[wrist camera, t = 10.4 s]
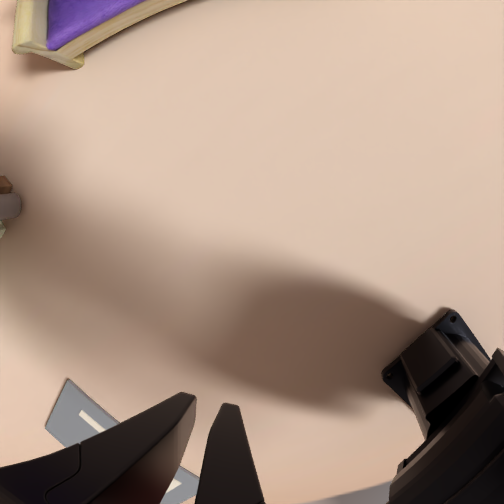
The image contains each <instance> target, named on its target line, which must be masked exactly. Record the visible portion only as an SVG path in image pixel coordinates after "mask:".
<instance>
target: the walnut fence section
mask: <svg viewBox="0 0 504 504" xmlns="http://www.w3.org/2000/svg"><path fill="white" fill-rule="evenodd" d="M11 189H12V184H11V183H10V182H9V181H8V180H7V178H6V177H5V176H0V194H8V193H10V191H11Z"/></svg>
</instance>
